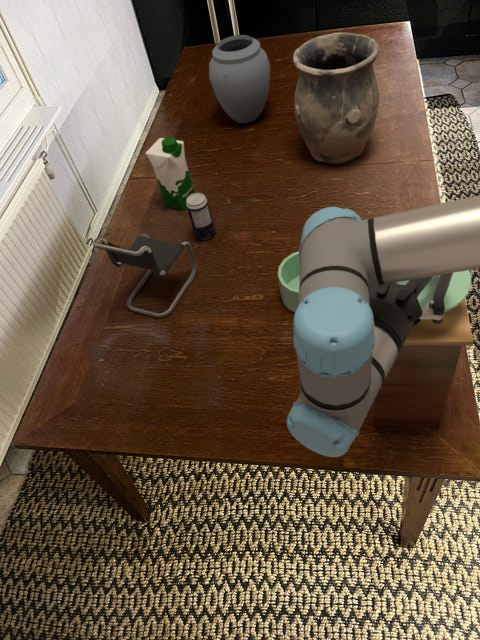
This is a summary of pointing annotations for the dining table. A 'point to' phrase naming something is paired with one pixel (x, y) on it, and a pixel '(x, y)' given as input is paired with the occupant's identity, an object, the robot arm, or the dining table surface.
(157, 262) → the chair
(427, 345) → the stand
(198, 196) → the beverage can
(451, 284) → the lid
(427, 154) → the dining table surface
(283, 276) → the green round bowl
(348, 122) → the clay pot
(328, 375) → the robot arm
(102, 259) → the dining table surface
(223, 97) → the vase
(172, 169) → the milk carton
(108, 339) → the dining table surface
